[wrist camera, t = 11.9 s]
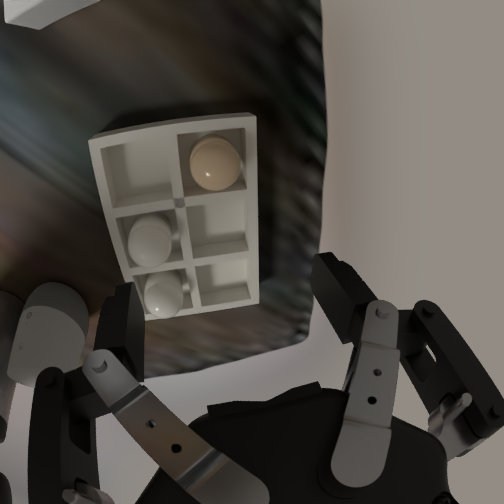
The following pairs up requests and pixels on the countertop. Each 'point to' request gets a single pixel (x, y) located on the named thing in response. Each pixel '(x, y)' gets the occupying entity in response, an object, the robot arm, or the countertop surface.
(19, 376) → the smart speaker
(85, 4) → the medicine bottle
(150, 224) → the white egg middle
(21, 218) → the countertop surface
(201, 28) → the countertop surface
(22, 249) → the countertop surface
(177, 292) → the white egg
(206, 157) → the tan egg
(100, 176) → the egg carton
